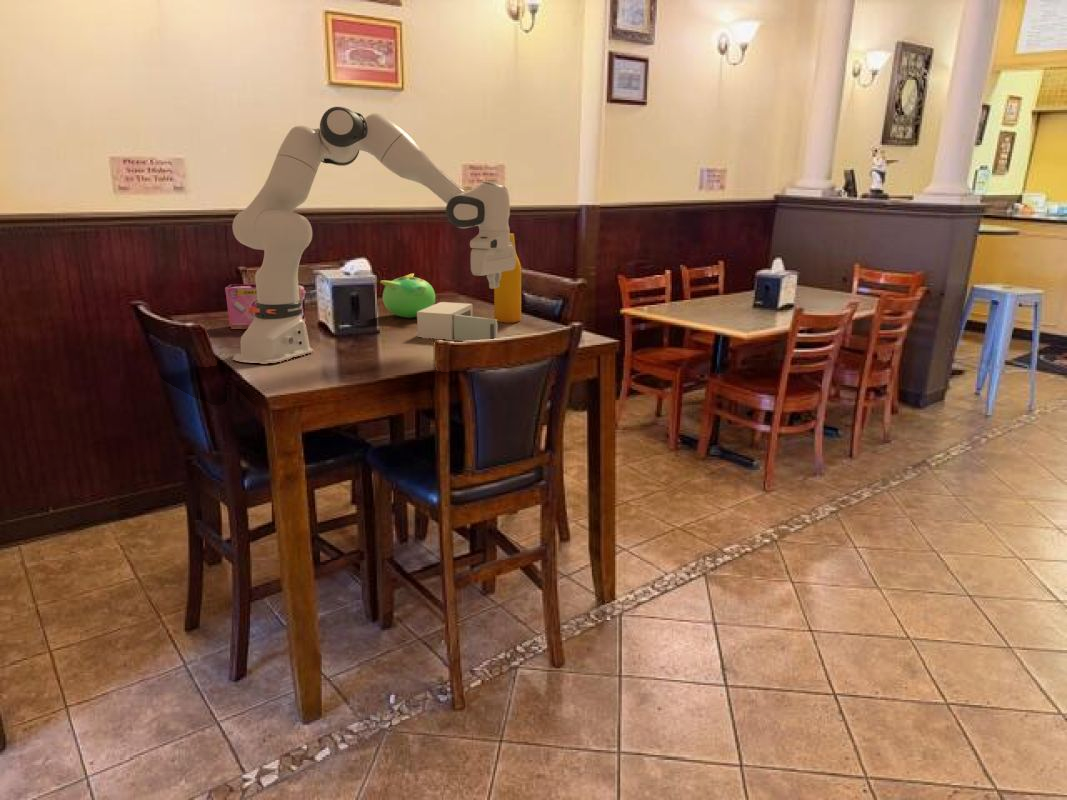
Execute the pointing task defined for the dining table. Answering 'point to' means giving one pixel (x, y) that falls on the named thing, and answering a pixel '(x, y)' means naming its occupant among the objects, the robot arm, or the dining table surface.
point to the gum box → (249, 302)
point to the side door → (473, 328)
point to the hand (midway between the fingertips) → (494, 288)
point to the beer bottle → (509, 293)
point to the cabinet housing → (440, 319)
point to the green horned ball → (407, 295)
